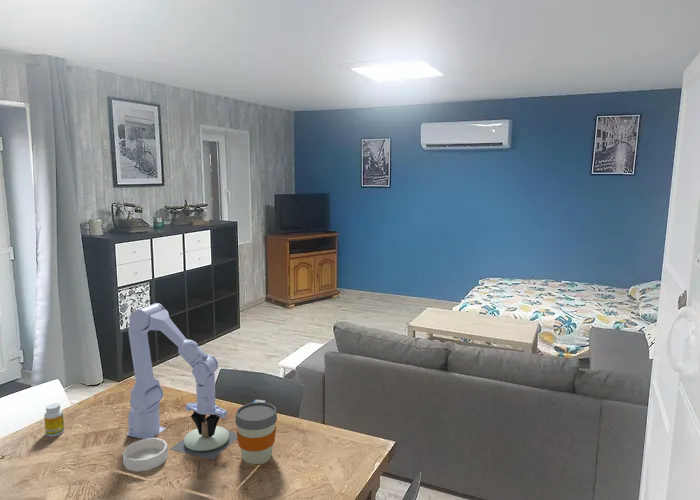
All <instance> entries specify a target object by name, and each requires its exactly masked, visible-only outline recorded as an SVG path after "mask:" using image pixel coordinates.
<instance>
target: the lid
mask: <svg viewBox="0 0 700 500" xmlns="http://www.w3.org/2000/svg"><path fill="white" fill-rule="evenodd" d="M201 430H202V434H201V435H199V432H198V429H197V428H194V429H191V430H190V431H189V432H188V433H187V434H185V436H184V438H183V439H184V444H185V446H186V447H187V448H188V449H191V450H194V451H208V450H213V449H216V448H218V447H220V446H222V445H224V444H225V443H226V442H227V441H228V439H229V432H228V431H229V430H228V429H226V428H224V427H223V426H219V425H217V426H216V429H215V434H214V435H213V436H212V437H209V435H208V425H207V422H206V419H205V420H204V421H202V422H201Z"/></svg>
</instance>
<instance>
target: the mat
mask: <svg viewBox="0 0 700 500" xmlns="http://www.w3.org/2000/svg"><path fill="white" fill-rule="evenodd" d="M228 432H229V439H228V441H227V442H226V443H225V444H224V445H222V446H220V447H218V448H216V449H213V450H208V451H194V450H191V449H188V448H187V447H186V446H185V444H184V438H183V439H181V440H180V441H178V442H177V443H175V445H174V446H172V447H171V448H170V451H171V450H172V451H175V452H180V453H183V454H188V455H191V456H195V457H199V458H204V459H208V460H212V461H213V460H215V459H216V458H217V457H218V456H219V455H220V454H222V452H224V451H225V450H227V448H228V447H229V446H230V445H232V443H234V442H235V441H236V440H238V438H237V432H234V431H229V430H228Z"/></svg>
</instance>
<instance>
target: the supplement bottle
mask: <svg viewBox="0 0 700 500" xmlns="http://www.w3.org/2000/svg"><path fill="white" fill-rule="evenodd" d="M45 411H46V412H45V413H44V415H43V418H44V419H43V420H44V432H45V435H46V436H47V437H57V436H59V435H61V434H63V433H64V432H65V424H64V423H65V422H64V410H63V409H61V404H60V403H58V402H53V403H51V404H48V405H46V407H45Z"/></svg>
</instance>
